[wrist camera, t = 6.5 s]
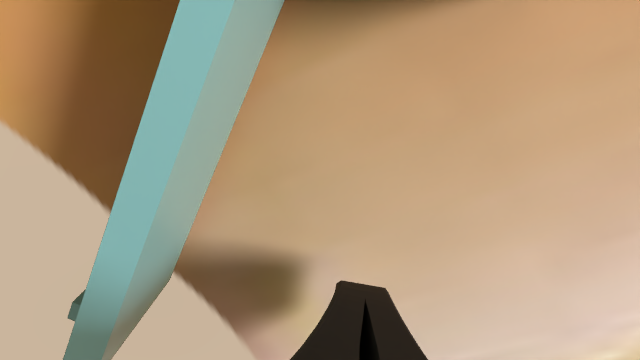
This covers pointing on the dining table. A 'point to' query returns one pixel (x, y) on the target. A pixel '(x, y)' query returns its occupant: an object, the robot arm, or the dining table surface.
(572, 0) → the dining table surface
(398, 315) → the robot arm
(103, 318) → the side door
